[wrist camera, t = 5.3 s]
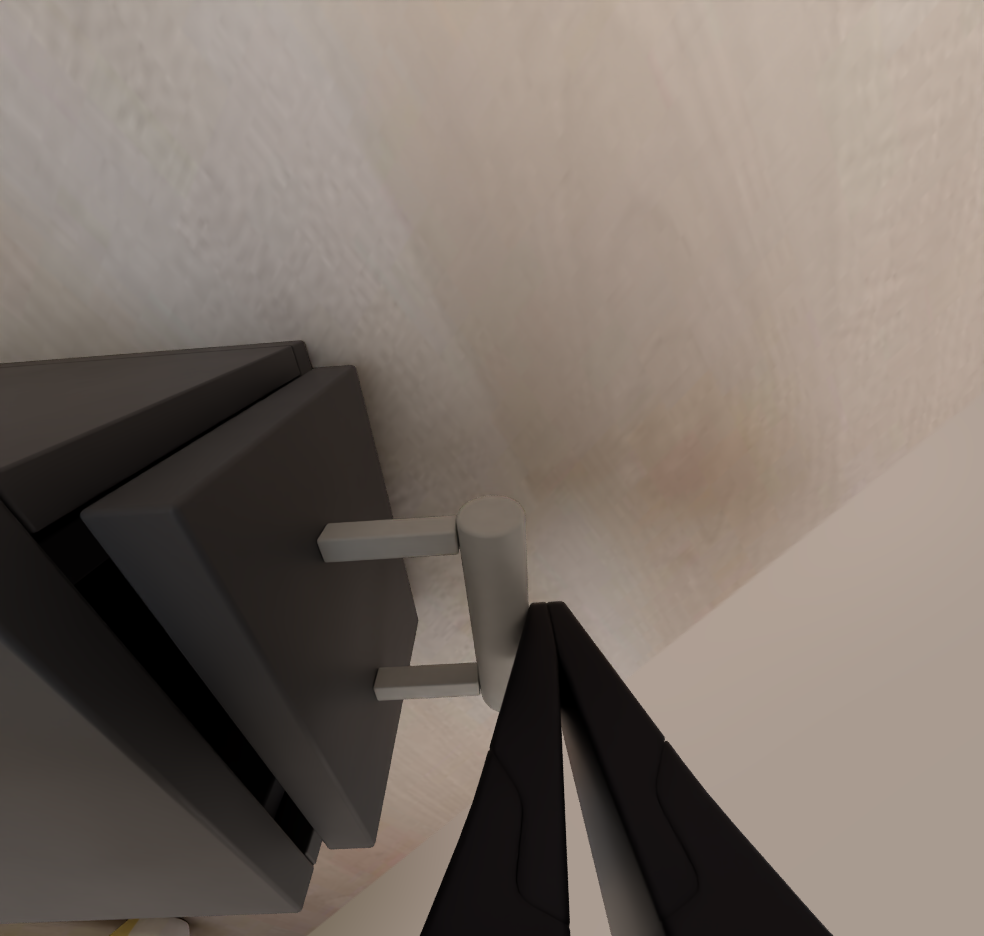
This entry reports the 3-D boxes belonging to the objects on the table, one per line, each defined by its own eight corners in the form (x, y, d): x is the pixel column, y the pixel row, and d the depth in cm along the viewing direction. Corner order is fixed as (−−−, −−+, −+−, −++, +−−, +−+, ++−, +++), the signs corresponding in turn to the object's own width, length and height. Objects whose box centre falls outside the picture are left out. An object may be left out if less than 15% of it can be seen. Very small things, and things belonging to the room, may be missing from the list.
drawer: (508, 352, 10) (539, 481, 4) (521, 614, 15) (543, 842, 9) (-80, 396, 11) (-818, 571, 5) (122, 636, 16) (-104, 868, 10)
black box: (304, 339, 11) (-124, 522, 3) (387, 614, 16) (301, 913, 9) (-145, 374, 11) (-1473, 610, 4) (87, 631, 17) (-241, 934, 9)
